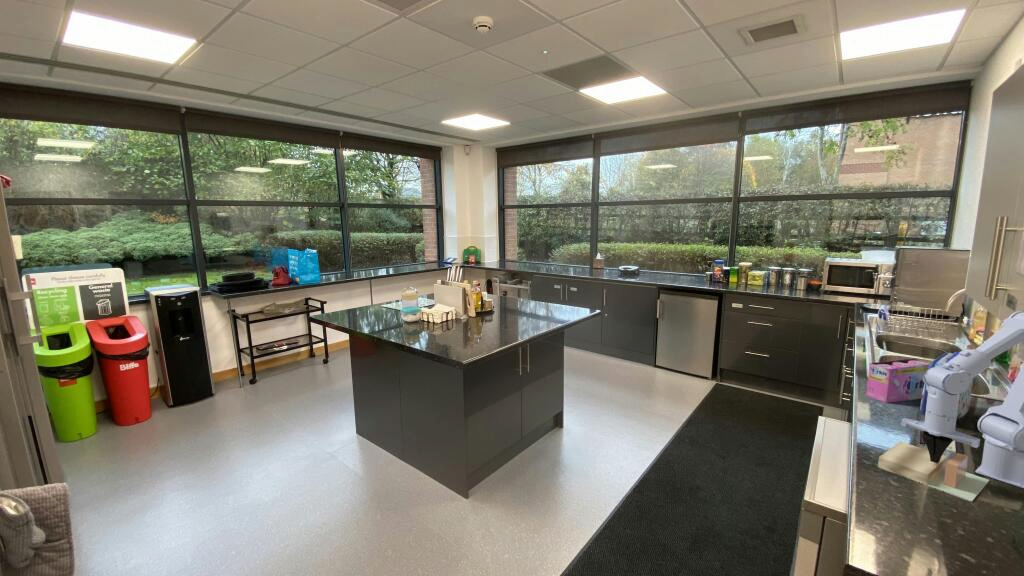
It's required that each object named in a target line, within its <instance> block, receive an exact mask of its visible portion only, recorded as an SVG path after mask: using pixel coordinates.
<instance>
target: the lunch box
mask: <svg viewBox="0 0 1024 576" xmlns="http://www.w3.org/2000/svg"><path fill="white" fill-rule="evenodd" d="M960 352H961V351H954V352H953V353H952V352H944V353H943V354H941V355H939V356H938V357H937V358H935V359H933V360H932V361H931V362H930V363H929V364H930V365H929V368H928V370H929V369H930V368H933V367H941V366H942V365H944V364H945V363H947V362H948V361H950V360H951V359H953V358H954V357H956V356H957V355H959V353H960ZM974 378H975V377H974ZM974 378H972V382H970V384H969V386H968V388H967V390H966V391H965V392H962V393H960V395H959V403H958V410H957V418H956V421H958V420H960V419H962V418H964V416H966V415H967V413H968V411H969V410H970V406H971V405H970V404H971V394H972V391H973V386H974V385H973V384H974ZM927 396H928V392H927V390H926V384H925V383H924V387H923V392H922V398H921V399H920V407H919V410H920V413H919V414H921V415H923V416H925V414H926V405H927Z"/></svg>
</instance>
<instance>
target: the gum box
mask: <svg viewBox="0 0 1024 576" xmlns="http://www.w3.org/2000/svg"><path fill="white" fill-rule="evenodd" d="M929 365H930V363H927V362H924V361H919V359H918V358H903V359H899V360H898V359H897V360H889V361H888V360H887V361H877V362H869V363H868V373H867V374H868V375H867V383H866V397H870V398H872V399H874V400H878V401H879V402H882V403H885V404H887V403H888V404H889V403H898V402H904V401H913V400H914V401H915V400H921V399H922V392H923V387H924V383H925V382H924V381H923V375H925V373H926V372H927V371H928V368H929Z"/></svg>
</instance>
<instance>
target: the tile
mask: <svg viewBox="0 0 1024 576" xmlns="http://www.w3.org/2000/svg"><path fill="white" fill-rule="evenodd" d="M968 457H969V456H968V455H967V454H963V453H962V454H960V453H954V455H953V456H952V457H951V458H950V459H948V460H947V462H946V469H945V478H944V485H947V486H949V487H952V488H956V487H957V486H958V485H959V483H960V482H961V481H962V480H963V479H964V478H965V476H966V472H967V469H968V468H967V467H968Z"/></svg>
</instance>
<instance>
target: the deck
mask: <svg viewBox="0 0 1024 576" xmlns="http://www.w3.org/2000/svg"><path fill="white" fill-rule="evenodd" d="M948 458H949V456H947V455H944V454H942V456H941V459H940V462H938V463H935V462H932V461H930V455H929V451H928V449H925V448H922V447H919V446H916V445H913V444H909V443H906V442H904V441H899V442H898V443H897V444H895V445H894V446H892V447H891V448H890V449H888V450H887V451H885V452H884V453H883V454H881V455H880V456H878V462H877V468H879V469H882V470H885V471H887V472H890V473H892V474H896V475H898V476H901V477H903V478H906V479H908V480H911V481H914V482H917V483H919V482H920V483H919V484H922V483H923V484H922V485H925V486H927V484H928V483H929V482H930V481H931V480H932V479H933V478H934V477H935V476H936V475H937V474H938V473H939V472H940V471H941V470H943V469H944V468H945V467H946V462H948V460H949V459H948Z"/></svg>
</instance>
